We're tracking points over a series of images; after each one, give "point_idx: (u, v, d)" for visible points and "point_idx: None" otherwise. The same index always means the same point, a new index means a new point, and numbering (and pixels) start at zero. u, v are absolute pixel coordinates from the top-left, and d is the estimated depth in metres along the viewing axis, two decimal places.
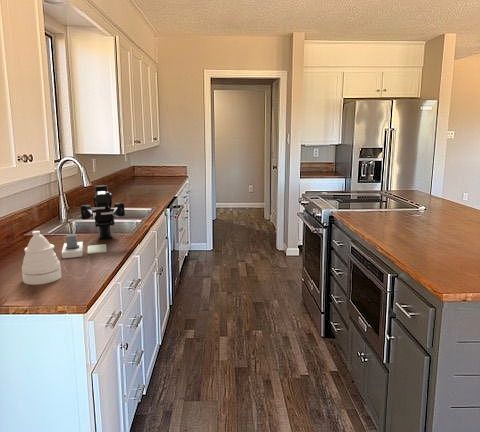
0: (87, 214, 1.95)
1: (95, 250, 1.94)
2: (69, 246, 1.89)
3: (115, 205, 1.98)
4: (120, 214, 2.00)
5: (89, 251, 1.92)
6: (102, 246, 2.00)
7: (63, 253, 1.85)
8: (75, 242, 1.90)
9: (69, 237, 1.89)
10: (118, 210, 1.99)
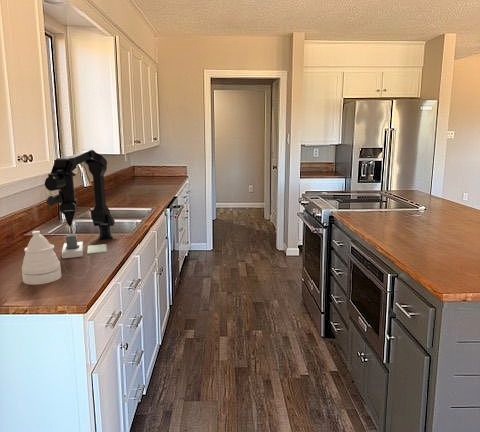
0: None
1: (95, 250, 1.94)
2: (69, 246, 1.89)
3: None
4: (72, 211, 1.82)
5: (89, 251, 1.92)
6: (102, 246, 2.00)
7: (63, 253, 1.85)
8: (75, 242, 1.90)
9: (69, 237, 1.89)
10: (68, 211, 1.82)
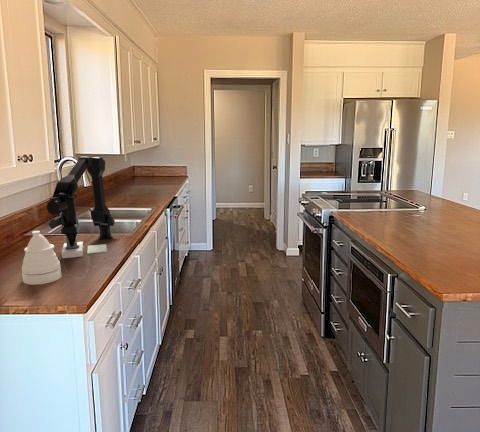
0: None
1: (95, 250, 1.94)
2: (69, 246, 1.89)
3: None
4: None
5: (89, 251, 1.92)
6: (102, 246, 2.00)
7: (63, 253, 1.85)
8: (75, 242, 1.90)
9: None
10: None
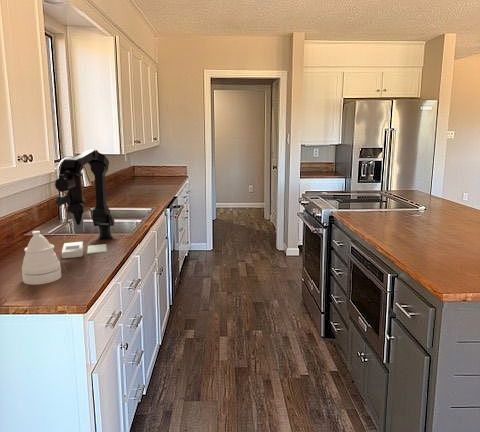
0: None
1: (95, 250, 1.94)
2: (75, 224, 1.89)
3: None
4: (81, 210, 1.86)
5: (89, 251, 1.92)
6: (102, 246, 2.00)
7: (63, 253, 1.85)
8: (81, 220, 1.90)
9: None
10: None
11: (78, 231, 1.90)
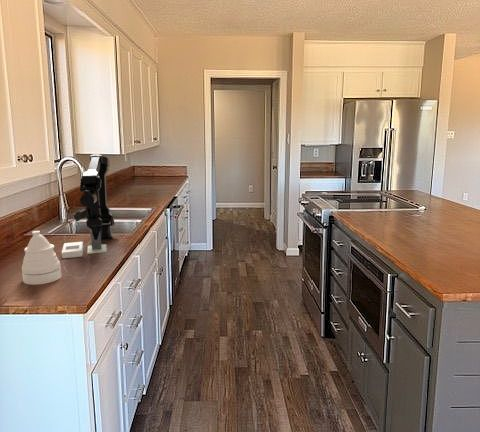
0: None
1: (95, 250, 1.94)
2: (93, 241, 1.94)
3: None
4: None
5: (89, 251, 1.92)
6: (102, 246, 2.00)
7: (63, 253, 1.85)
8: (99, 237, 1.95)
9: None
10: None
11: (96, 248, 1.95)
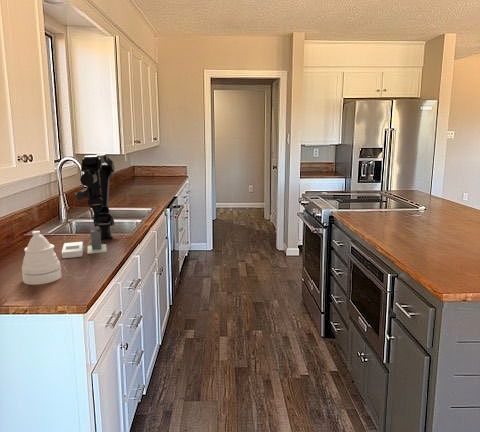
0: None
1: (95, 250, 1.94)
2: (93, 241, 1.94)
3: None
4: (100, 205, 1.96)
5: (89, 251, 1.92)
6: (102, 246, 2.00)
7: (63, 253, 1.85)
8: (99, 237, 1.95)
9: (93, 232, 1.94)
10: None
11: (96, 248, 1.95)
